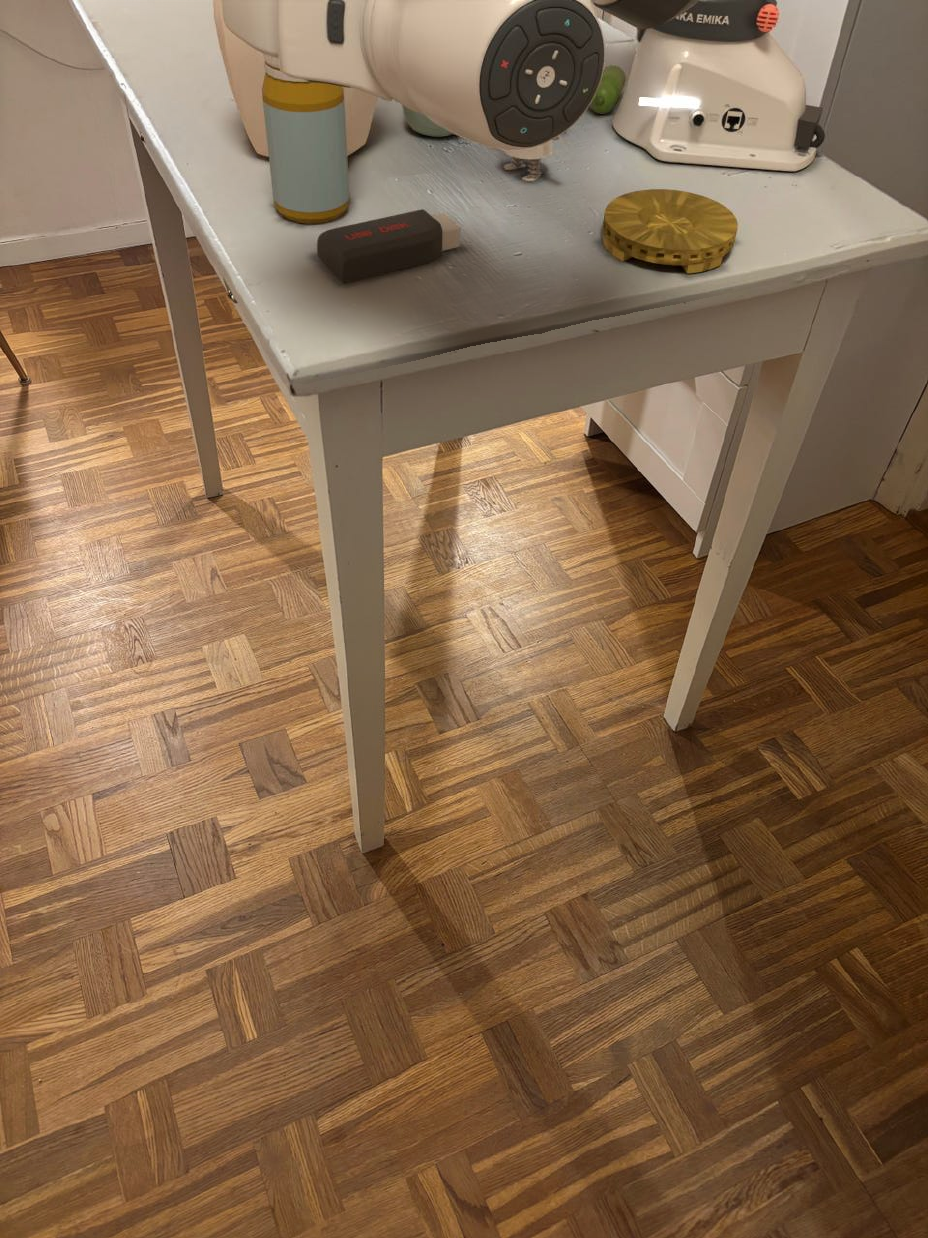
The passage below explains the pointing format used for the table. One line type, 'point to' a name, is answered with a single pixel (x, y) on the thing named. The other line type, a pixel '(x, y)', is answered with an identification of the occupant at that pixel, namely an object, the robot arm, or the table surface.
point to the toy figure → (533, 155)
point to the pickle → (608, 89)
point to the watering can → (247, 93)
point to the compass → (669, 229)
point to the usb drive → (387, 244)
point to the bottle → (305, 145)
